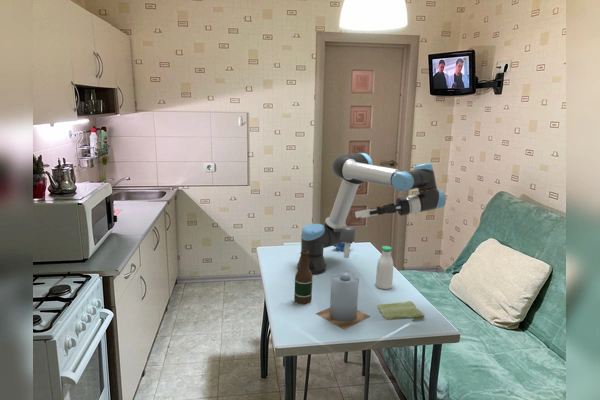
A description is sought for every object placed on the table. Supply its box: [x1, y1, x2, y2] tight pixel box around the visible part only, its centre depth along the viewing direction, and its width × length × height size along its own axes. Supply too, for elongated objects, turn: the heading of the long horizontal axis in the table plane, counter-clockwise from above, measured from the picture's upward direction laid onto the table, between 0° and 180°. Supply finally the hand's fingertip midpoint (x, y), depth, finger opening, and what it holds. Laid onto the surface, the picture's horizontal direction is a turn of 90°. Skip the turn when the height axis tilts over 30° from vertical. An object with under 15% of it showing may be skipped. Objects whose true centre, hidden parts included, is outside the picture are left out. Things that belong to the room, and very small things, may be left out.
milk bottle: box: [375, 245, 394, 290], centre depth 202 cm, size 8×8×20 cm
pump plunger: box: [334, 225, 356, 259], centre depth 166 cm, size 6×8×12 cm
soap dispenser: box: [329, 271, 360, 322], centre depth 172 cm, size 11×11×18 cm
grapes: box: [333, 242, 354, 252], centre depth 250 cm, size 12×7×12 cm, turn 89°
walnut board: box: [315, 306, 371, 330], centre depth 174 cm, size 16×16×1 cm
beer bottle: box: [293, 250, 313, 305], centre depth 183 cm, size 8×8×24 cm
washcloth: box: [376, 300, 425, 321], centre depth 178 cm, size 13×18×3 cm
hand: (358, 214), depth 176 cm, fingers open, 13 cm apart
